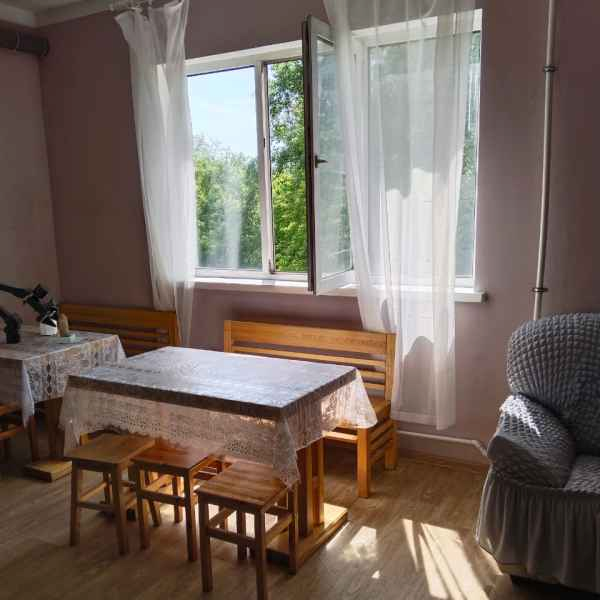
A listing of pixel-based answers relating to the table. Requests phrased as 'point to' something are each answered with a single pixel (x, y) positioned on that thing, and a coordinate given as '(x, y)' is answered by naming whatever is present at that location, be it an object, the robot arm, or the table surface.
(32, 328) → the table surface
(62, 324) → the pepper mill
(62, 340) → the well board
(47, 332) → the jar
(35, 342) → the table surface
